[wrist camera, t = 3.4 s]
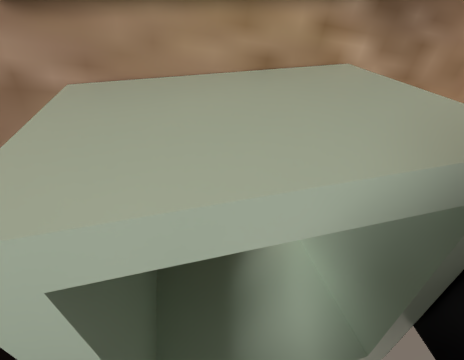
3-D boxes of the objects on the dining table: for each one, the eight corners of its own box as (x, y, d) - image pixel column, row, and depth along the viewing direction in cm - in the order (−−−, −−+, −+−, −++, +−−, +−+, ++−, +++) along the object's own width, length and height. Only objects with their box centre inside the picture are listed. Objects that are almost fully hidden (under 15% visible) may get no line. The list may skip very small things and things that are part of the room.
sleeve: (306, 236, 12) (382, 359, 8) (140, 270, 10) (129, 440, 6) (347, 63, 7) (578, 142, 3) (67, 84, 6) (-119, 260, 2)
